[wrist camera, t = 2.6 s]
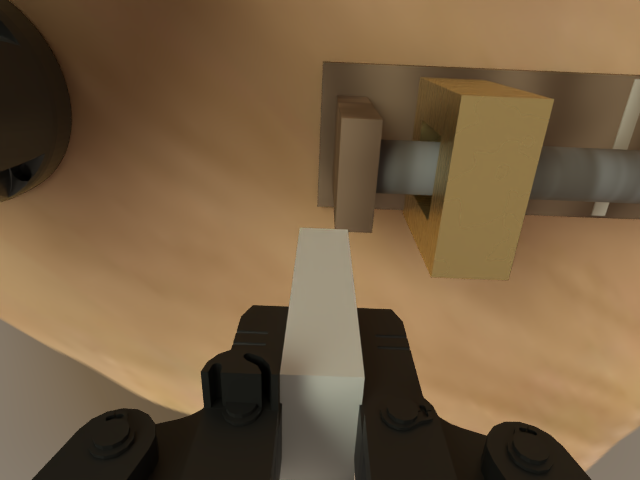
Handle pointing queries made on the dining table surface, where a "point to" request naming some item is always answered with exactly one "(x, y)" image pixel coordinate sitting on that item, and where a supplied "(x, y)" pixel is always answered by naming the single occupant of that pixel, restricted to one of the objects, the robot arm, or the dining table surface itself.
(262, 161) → the dining table surface
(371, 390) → the robot arm
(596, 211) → the pipe rig
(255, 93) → the dining table surface
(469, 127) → the collar
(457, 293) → the dining table surface
